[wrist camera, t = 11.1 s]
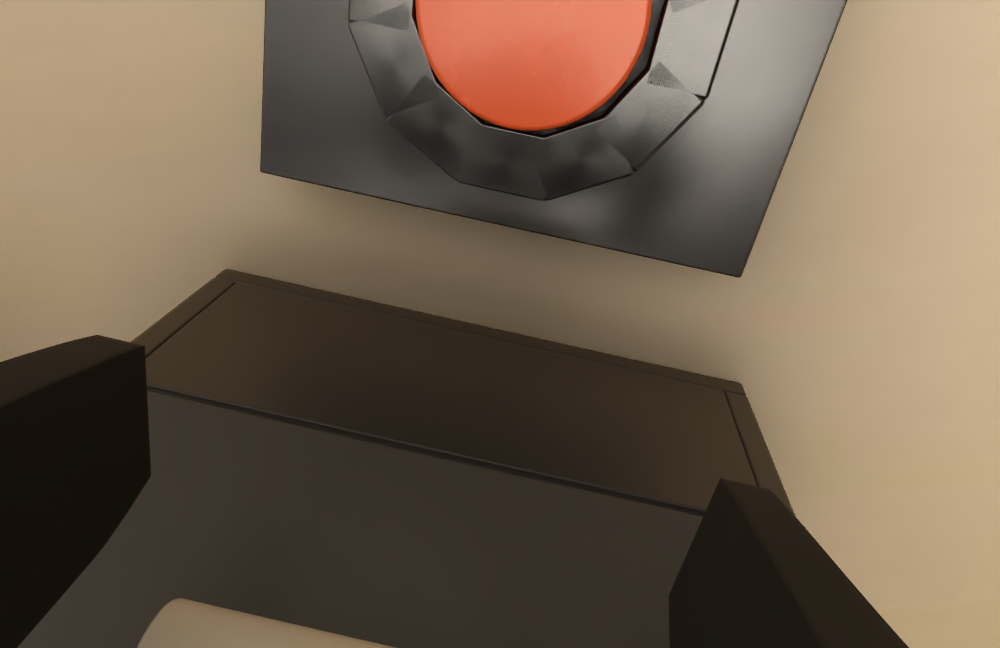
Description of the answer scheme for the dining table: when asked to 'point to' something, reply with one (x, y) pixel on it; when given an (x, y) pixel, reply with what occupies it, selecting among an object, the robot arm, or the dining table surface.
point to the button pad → (560, 151)
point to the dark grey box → (459, 392)
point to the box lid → (361, 550)
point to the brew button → (532, 55)
